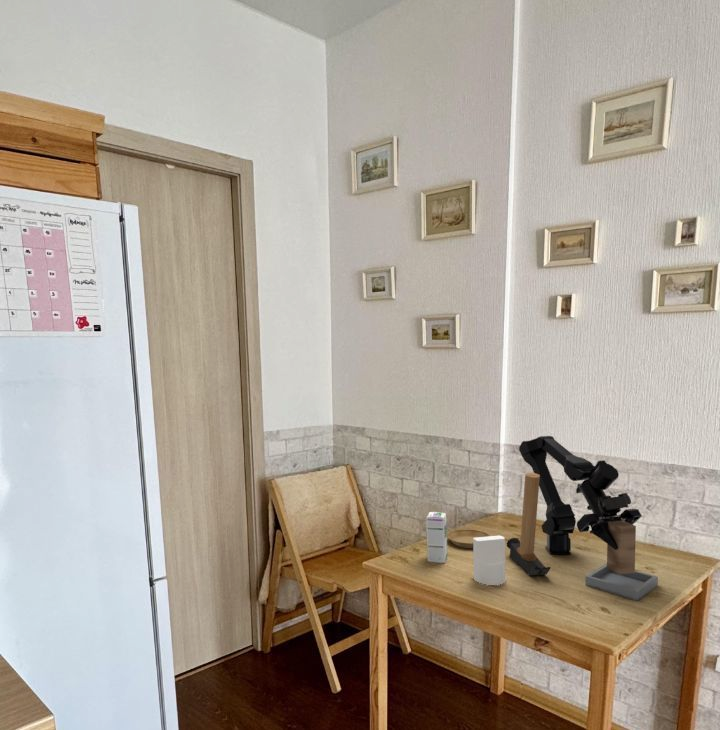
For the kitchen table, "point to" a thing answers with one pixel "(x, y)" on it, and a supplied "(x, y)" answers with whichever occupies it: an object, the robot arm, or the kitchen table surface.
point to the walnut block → (622, 547)
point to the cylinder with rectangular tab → (489, 560)
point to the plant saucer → (465, 537)
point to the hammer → (528, 530)
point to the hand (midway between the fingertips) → (624, 547)
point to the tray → (622, 582)
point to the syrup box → (436, 537)
